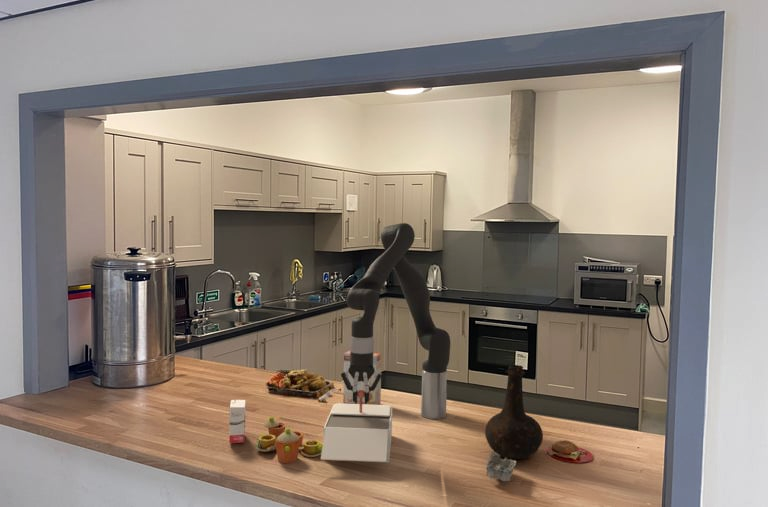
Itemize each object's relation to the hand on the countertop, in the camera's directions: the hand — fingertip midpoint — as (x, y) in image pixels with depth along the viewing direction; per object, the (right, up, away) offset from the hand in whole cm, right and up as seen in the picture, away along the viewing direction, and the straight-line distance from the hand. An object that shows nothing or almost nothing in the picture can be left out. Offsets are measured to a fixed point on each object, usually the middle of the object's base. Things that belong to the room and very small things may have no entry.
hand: (360, 402), depth 181 cm
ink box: (-41, -13, +3) cm, 43 cm away
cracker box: (-1, -12, +41) cm, 43 cm away
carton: (-1, -14, -6) cm, 15 cm away
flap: (0, -3, +3) cm, 5 cm away
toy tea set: (-24, -14, -4) cm, 28 cm away
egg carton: (+38, -16, -21) cm, 47 cm away
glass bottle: (+48, -15, -5) cm, 51 cm away
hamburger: (+67, -16, -3) cm, 69 cm away
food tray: (-29, -11, +59) cm, 67 cm away
